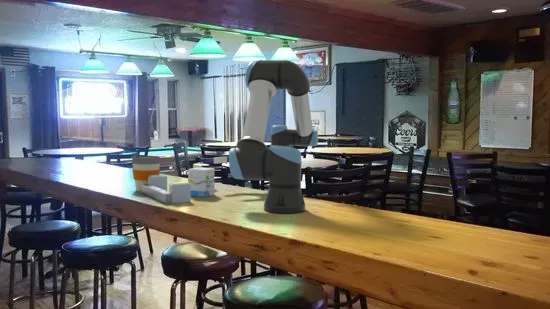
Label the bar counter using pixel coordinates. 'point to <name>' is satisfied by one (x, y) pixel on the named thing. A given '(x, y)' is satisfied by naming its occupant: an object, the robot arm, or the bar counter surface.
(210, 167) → the pneumatic valve
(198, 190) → the ink box
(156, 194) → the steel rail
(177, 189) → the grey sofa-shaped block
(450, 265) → the bar counter surface
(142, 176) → the reusable coffee cup
